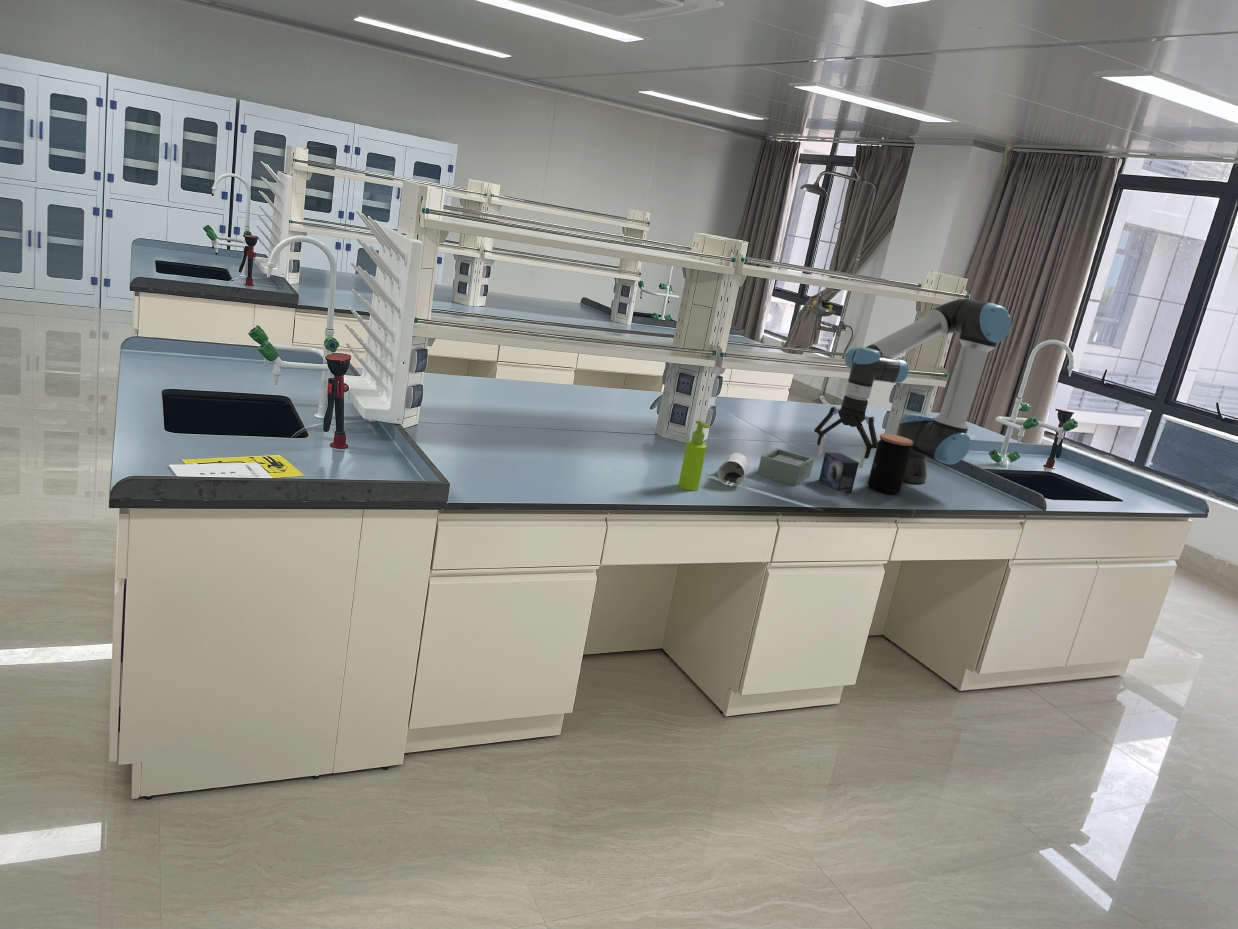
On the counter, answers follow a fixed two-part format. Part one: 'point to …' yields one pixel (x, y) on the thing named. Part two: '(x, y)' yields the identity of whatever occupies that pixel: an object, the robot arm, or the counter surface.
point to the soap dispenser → (693, 459)
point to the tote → (785, 467)
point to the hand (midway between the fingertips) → (839, 461)
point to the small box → (838, 471)
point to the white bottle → (734, 467)
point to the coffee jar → (890, 464)
